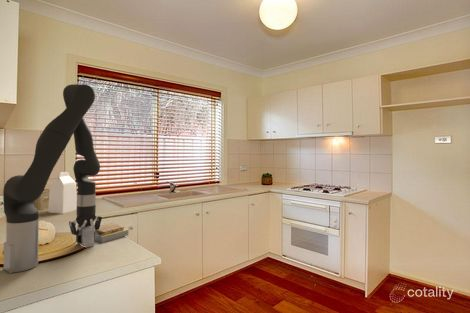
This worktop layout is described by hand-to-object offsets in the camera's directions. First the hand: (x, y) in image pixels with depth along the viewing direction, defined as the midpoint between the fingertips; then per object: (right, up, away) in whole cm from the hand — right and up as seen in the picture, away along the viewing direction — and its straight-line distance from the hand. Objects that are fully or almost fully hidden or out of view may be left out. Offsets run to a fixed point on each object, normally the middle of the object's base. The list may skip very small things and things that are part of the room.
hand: (85, 241), depth 121 cm
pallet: (+4, +1, +13) cm, 14 cm away
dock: (+4, -1, +13) cm, 14 cm away
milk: (-48, +2, +59) cm, 76 cm away
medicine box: (0, -2, 0) cm, 2 cm away
